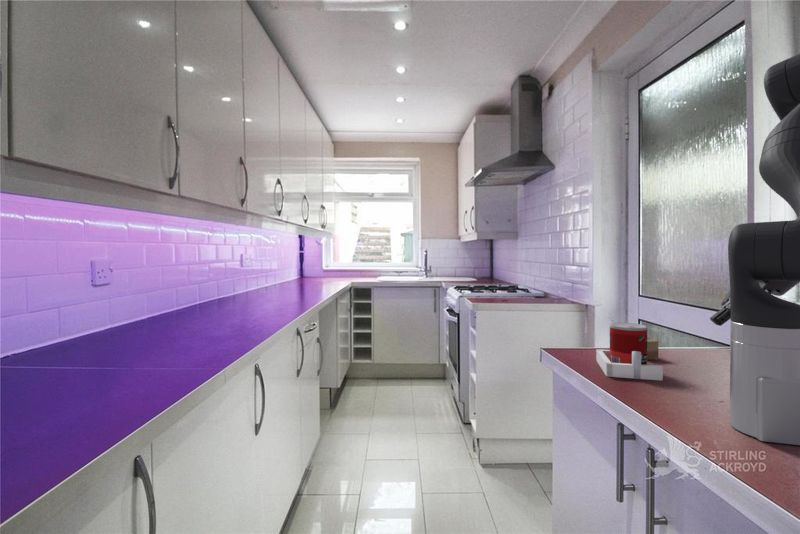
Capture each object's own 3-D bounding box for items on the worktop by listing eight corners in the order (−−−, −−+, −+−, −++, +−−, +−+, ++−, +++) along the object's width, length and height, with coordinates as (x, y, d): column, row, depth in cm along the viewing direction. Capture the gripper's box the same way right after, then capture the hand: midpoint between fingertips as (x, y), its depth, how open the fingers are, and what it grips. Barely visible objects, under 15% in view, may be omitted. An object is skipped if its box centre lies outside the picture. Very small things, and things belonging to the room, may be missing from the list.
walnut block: (658, 359, 103) (658, 341, 103) (640, 360, 103) (640, 341, 103) (645, 354, 108) (645, 337, 108) (628, 355, 108) (628, 337, 108)
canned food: (646, 376, 89) (646, 329, 89) (607, 370, 94) (607, 326, 94) (648, 368, 96) (648, 324, 95) (611, 363, 100) (611, 321, 100)
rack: (663, 381, 86) (663, 354, 86) (606, 376, 89) (606, 351, 89) (643, 362, 100) (643, 340, 100) (595, 359, 104) (595, 337, 103)
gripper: (750, 258, 92) (689, 307, 96) (786, 257, 79) (713, 314, 83) (778, 280, 90) (714, 329, 94) (819, 283, 78) (743, 340, 82)
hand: (714, 322), depth 89 cm, fingers closed
